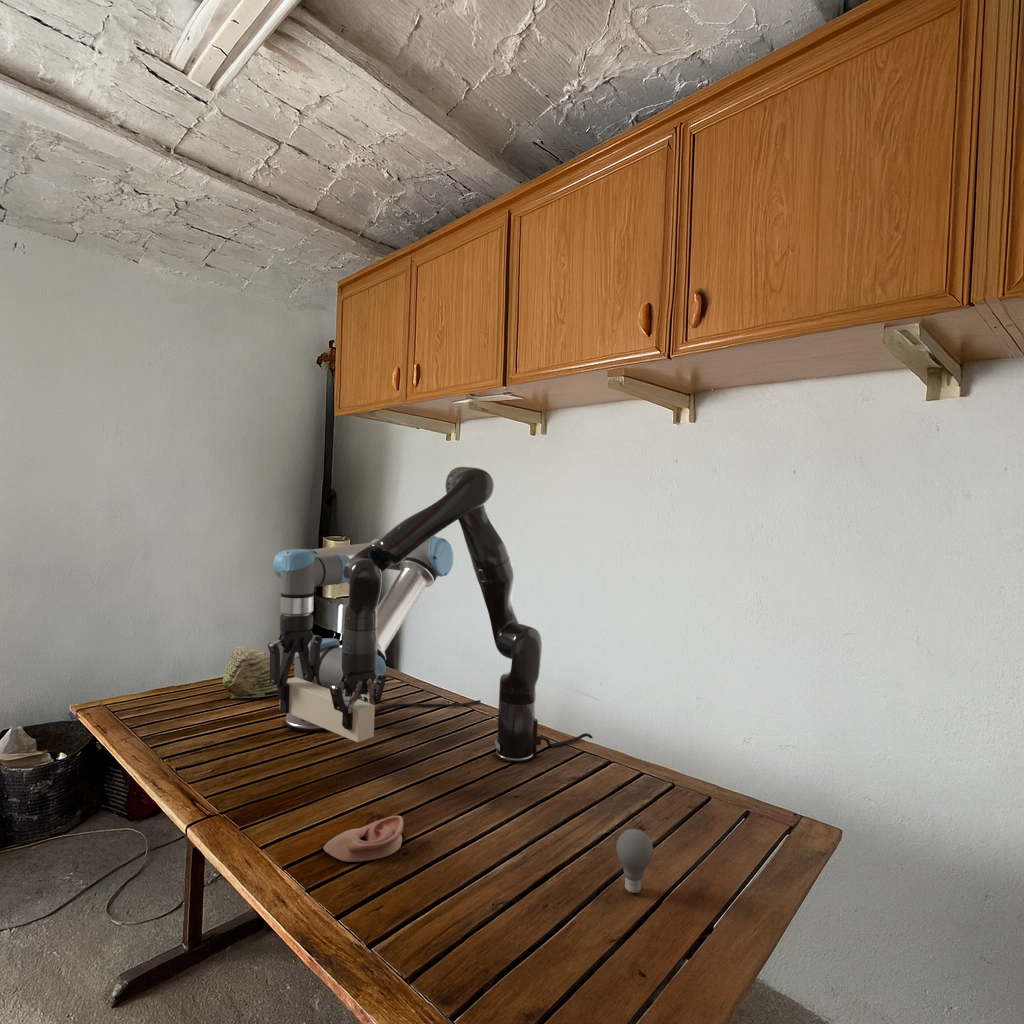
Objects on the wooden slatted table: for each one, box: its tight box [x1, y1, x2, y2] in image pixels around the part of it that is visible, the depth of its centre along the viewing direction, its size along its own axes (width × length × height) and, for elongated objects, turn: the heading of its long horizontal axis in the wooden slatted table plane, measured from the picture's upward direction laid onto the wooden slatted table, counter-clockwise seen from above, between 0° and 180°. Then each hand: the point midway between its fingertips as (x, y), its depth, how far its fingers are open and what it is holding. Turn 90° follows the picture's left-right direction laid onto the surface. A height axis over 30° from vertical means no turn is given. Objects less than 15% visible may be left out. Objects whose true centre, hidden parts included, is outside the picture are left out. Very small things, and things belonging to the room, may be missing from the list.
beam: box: [286, 677, 376, 743], centre depth 146 cm, size 30×4×7 cm, turn 52°
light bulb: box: [615, 828, 654, 894], centre depth 106 cm, size 6×6×10 cm
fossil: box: [222, 646, 278, 699], centre depth 198 cm, size 9×18×15 cm, turn 132°
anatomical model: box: [323, 815, 404, 863], centre depth 116 cm, size 13×4×12 cm
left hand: (294, 709), depth 153 cm, fingers closed on beam, 4 cm apart
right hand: (357, 725), depth 138 cm, fingers closed on beam, 4 cm apart
